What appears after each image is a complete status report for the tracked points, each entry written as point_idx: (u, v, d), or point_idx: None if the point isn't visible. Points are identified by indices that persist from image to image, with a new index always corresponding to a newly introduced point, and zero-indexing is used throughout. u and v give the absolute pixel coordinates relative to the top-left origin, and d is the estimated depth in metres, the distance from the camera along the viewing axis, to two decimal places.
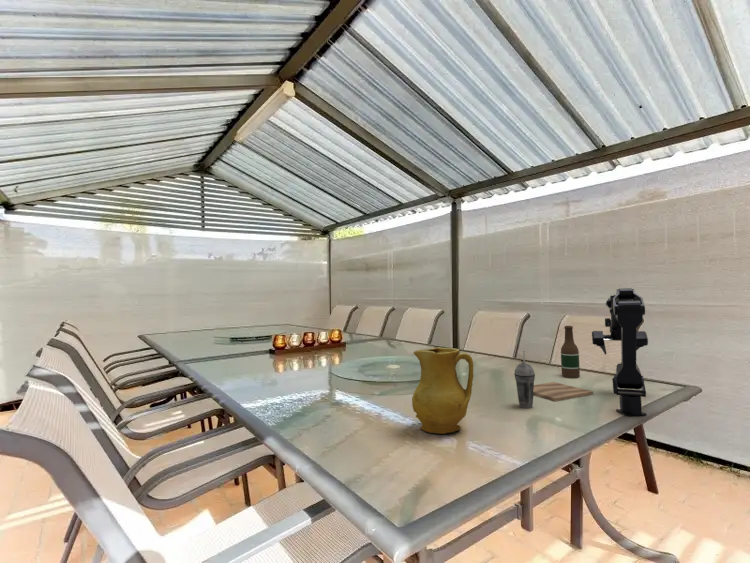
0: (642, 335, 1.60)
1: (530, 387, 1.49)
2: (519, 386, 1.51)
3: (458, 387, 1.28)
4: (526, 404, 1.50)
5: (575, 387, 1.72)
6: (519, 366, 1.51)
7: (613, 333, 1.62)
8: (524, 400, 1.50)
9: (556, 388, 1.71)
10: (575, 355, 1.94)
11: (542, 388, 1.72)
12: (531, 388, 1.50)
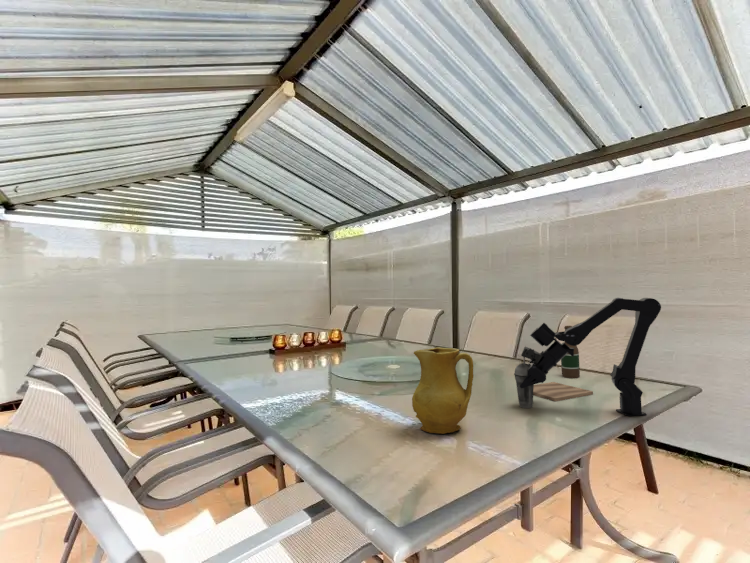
0: None
1: (530, 387, 1.49)
2: (519, 386, 1.51)
3: (458, 387, 1.28)
4: (526, 403, 1.50)
5: (575, 387, 1.72)
6: (519, 366, 1.51)
7: (549, 367, 1.47)
8: (524, 400, 1.50)
9: (556, 388, 1.71)
10: (575, 355, 1.94)
11: (542, 388, 1.72)
12: (531, 388, 1.50)
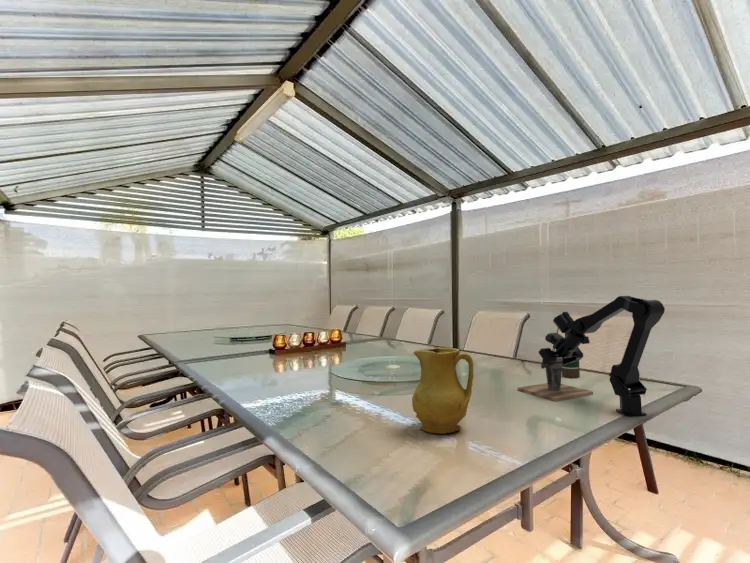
0: (578, 350, 1.68)
1: (553, 372, 1.67)
2: (546, 370, 1.71)
3: (458, 387, 1.28)
4: (550, 386, 1.69)
5: (575, 387, 1.72)
6: None
7: (565, 352, 1.62)
8: (548, 383, 1.69)
9: None
10: None
11: (542, 388, 1.72)
12: (554, 373, 1.67)
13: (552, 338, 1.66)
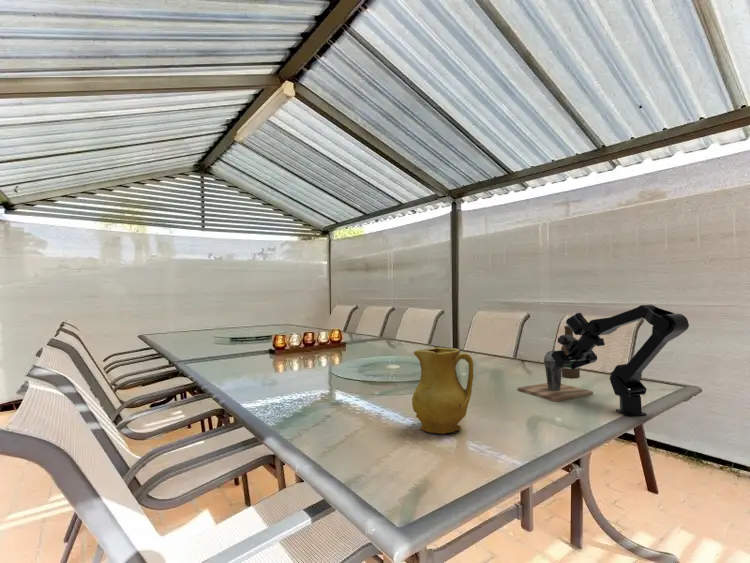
0: (592, 352, 1.62)
1: (553, 372, 1.67)
2: None
3: (458, 387, 1.28)
4: (550, 386, 1.69)
5: (575, 387, 1.72)
6: (547, 353, 1.71)
7: (579, 354, 1.56)
8: (548, 383, 1.69)
9: None
10: None
11: (542, 388, 1.72)
12: (554, 373, 1.67)
13: (565, 340, 1.60)
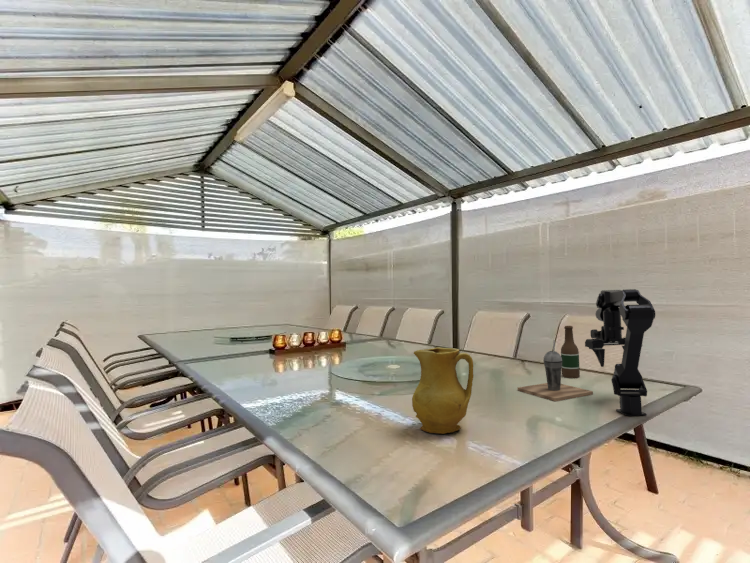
0: None
1: (553, 372, 1.68)
2: None
3: (458, 387, 1.28)
4: (550, 386, 1.69)
5: (575, 387, 1.72)
6: (546, 353, 1.71)
7: (610, 333, 1.52)
8: (548, 383, 1.69)
9: None
10: (575, 355, 1.94)
11: (542, 388, 1.72)
12: (554, 373, 1.67)
13: (595, 331, 1.59)
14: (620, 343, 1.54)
